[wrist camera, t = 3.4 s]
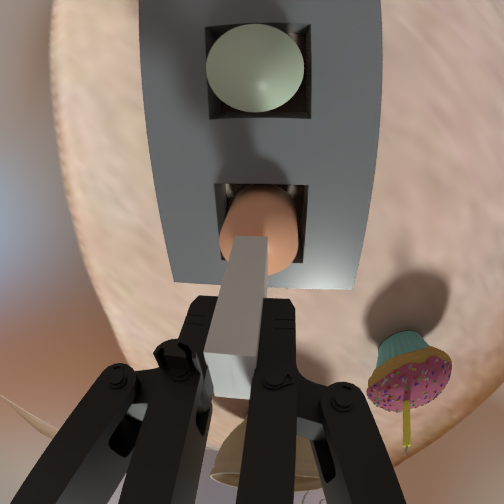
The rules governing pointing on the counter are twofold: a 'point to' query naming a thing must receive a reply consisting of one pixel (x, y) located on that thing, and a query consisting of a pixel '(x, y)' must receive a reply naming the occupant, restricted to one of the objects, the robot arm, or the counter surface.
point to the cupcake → (408, 376)
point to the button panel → (263, 132)
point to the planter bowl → (231, 459)
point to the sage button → (254, 68)
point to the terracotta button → (263, 223)
